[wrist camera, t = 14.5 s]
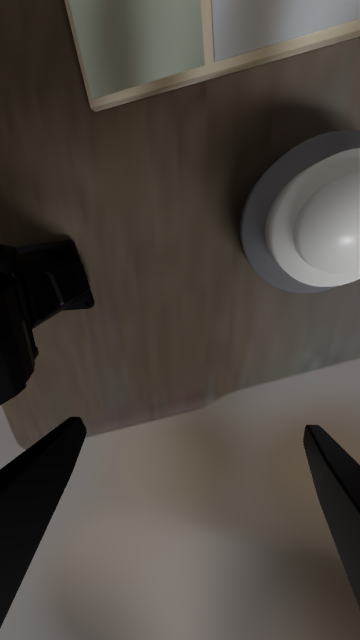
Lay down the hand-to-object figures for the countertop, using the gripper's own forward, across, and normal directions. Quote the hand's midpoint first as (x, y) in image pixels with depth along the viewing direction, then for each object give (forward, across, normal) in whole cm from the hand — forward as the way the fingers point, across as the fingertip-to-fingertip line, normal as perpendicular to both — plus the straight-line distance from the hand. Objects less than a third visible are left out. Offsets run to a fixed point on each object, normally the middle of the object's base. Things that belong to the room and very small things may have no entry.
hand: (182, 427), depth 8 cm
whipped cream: (+10, -8, -6) cm, 14 cm away
